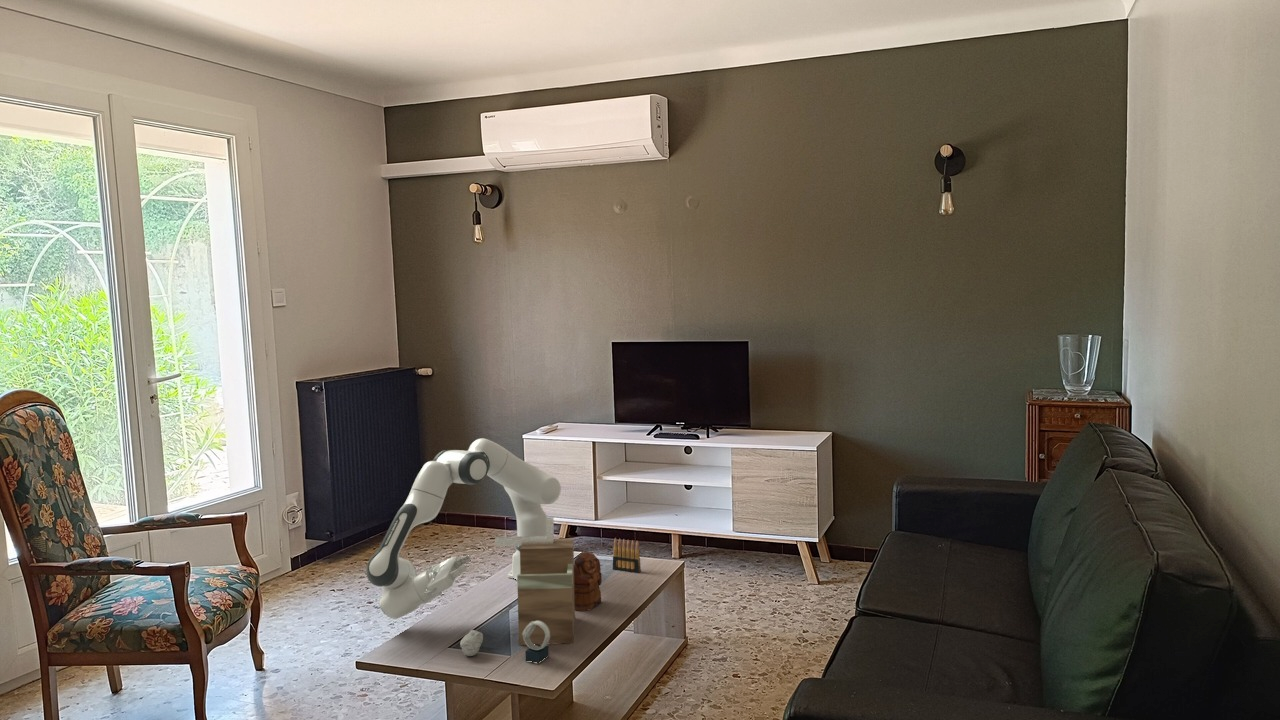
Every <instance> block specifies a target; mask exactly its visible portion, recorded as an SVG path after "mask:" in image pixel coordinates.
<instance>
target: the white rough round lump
mask: <svg viewBox="0 0 1280 720" xmlns="http://www.w3.org/2000/svg"><path fill="white" fill-rule="evenodd" d="M483 640H484V634H483V633H482V632H481V631H478V630H475V629H471V630H470V631H469V632H468V633H466V634H465V635H464V636H463V637H462V638H461V640H460V643H459V645H460V648H461V651H462V653H463V654H464V655H465V656H467V657H473V656H475V655H477V654H478V652H479V650H480V647H481V646H482V643H483Z"/></svg>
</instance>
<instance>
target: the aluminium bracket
mask: <svg viewBox="0 0 1280 720" xmlns="http://www.w3.org/2000/svg"><path fill="white" fill-rule="evenodd" d="M554 522H555V521H554V516H547V519H546V523H547V536H521V537H517V536H496V537H495V538H494V547H516V546H528V545H553V544H554V539H555V531H554V530H555V529H554V527H555V526H554V525H555V523H554Z"/></svg>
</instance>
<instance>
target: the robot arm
mask: <svg viewBox="0 0 1280 720" xmlns="http://www.w3.org/2000/svg"><path fill="white" fill-rule="evenodd" d="M486 477H489V478H490V479H492V480H493V481H495V482H496V483H497V484H500V485H501V486H503V489H504V491H505V492H506V493H507V494H508V497H509V498H510V501H511V503H512V506H513V509H514V514H515V518H516V534H517V535H516V537H521V536H547V523H546V519H547V517H548V515H547V513H546V512H545V511H544V509H543V508H542V505H552V504H554V503H555V502H556V501H557V500H558V499H559V497H560V495H561V491H562V488H561V483H560V482H559V480H558V479H557V478H556V477H554V476H553V475H550V474H548V473H546V472H545V471H543V470H541V469H540V468H538V467H536V466H534V465H532V464H530V463H528V462H527V461H525V460H523V459H520V458H519V457H518V456H517V455H515V454H513V453H512V452H511V451H510V450H508V449H506V448H505V447H504V446H502V445H500V444H498V443H496V442H494V441H492V440H490V439H487V438H484V437H483V438H477V439H475V440H474V441H473V442H472V443H471V444H470V445H469V447H468V449H467V450H463V449H461V450H460V449H445V450H442V451H440V452H438V453H437V454H436V455H435V456H434V458H433V459H432V460H429V461H427V462H425V463H424V464H423V466H422V468H421V469H420V471H419V472H418V473H417V475H416V477H415V479H414V482H413V484H412V485H411V489H410V491H409V494H408V496H407V498H406V500H405V502H404V503H403V505H402V506H401V507H400V508H399V509H398V511H397V513H396V514H395V516H394V518H393V520H392V521H391V523H390V525H389V528H388V529H387V532H386V533H385V536H384V537H383V540H382V541H381V544H380V545H379V547H378V548H377V550H376V551H375V552H374V553H373V554H372V555H371V557H370V558H369V560H368V562H367V564H366V568H365V574H366V577H367V579H368V581H369V582H370V584H372V585H374V586H376V587H382V593H381V597H380V600H379V602H378V605H379V608H380V610H381V611H382V612H383V614H384V615H386V616H387V618H390V619H393V620H398V619H400V618H403V617H404V616H407V615H409V614H411V613H412V612H415V611H416V610H417V609H418V608H419V607H421V605H424V604H427V603H430V602H431V601H433V600H434V599H436V598H437V597H439V596H441V595H443V594H442V592H445V591H446V590H448V589H449V588H450V587H452V586H453V585H454V582H455V580H456V579H457V578H458V577H459V576H460V575H462V574H463V573H465V572H466V571H467V566H466V564H467V563H469V562H470V561H471V559H472V557H471V556H470V554H467V555H465V556H463V557H460V558H459V557H458V556H457V555H456V556H452V557H449V558H448V559H446V560H443V561H441V562H439V563H438V564H437V565H436V566H435V565H431V566H430V567H428V568H427V569H426V570H424V571H423V572H421V573H420V574H417V571H416V570H417V569H416V568H415V565H414V564H413V563H412V561H410V560H408V559H405V558H403V557H400V553H401V551H402V548H403V547H404V544H405V542H406V541H407V539H408V537H409V534H410V533H411V531H412V530H413V529H414V527H416V526H418V525H421V524H425V523H429V522H431V521H433V520H434V519H435V518H436V517H437V516H438V514H439V513H440V511H441V509H442V506H443V504H444V500H445V498H446V496H447V493H448V489H449V487H450V486H451V485H453V483H454V484H465V485H477V484H480V483H482V482H483V481H484V479H485V478H486ZM520 547H521V546H515V548H516V551H515V552H514V553H513V554H512V560H511V561H512V562H511V565H512V566H511V567H512V568H511V570H510V571H509V572H508V573H507V578H508V579H513V578H514V579H513V580H515V579H516V580H515V581H517V575H518V574H520Z"/></svg>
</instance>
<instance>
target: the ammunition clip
mask: <svg viewBox="0 0 1280 720" xmlns="http://www.w3.org/2000/svg"><path fill="white" fill-rule="evenodd" d="M612 551H613V554H612V555H613V556H612V570H613V571H617V572H618V571H620V572H625V573H635V574H640V573H641V572H642V569H641V558H640V553H641V552H640V546H639V540H636V541H635V542H634V540H633V539H632V540H631V542H630V540H629V539H627V541H626V540H625V538H623V540H621V538H619V539H618V540H617V537H614V540H613V549H612Z"/></svg>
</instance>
